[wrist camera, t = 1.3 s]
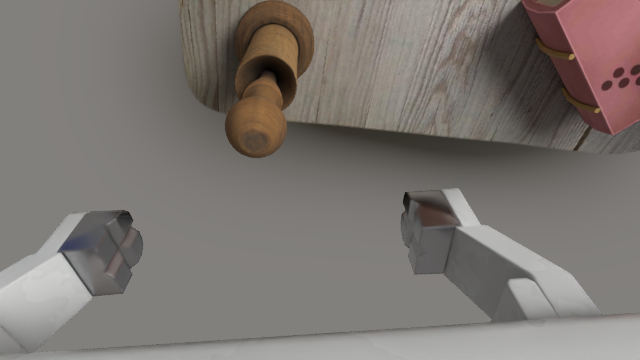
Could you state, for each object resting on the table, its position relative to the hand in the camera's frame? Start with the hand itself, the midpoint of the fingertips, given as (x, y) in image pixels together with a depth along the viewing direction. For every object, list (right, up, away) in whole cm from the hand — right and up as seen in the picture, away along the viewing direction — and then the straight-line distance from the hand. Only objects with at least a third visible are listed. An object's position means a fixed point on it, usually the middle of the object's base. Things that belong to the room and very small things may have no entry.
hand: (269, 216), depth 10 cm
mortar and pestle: (-2, +14, +21) cm, 25 cm away
